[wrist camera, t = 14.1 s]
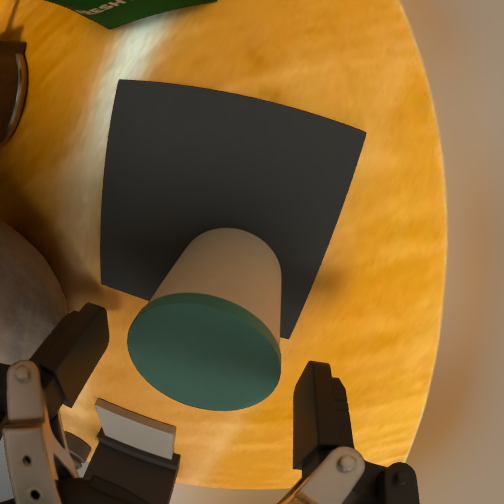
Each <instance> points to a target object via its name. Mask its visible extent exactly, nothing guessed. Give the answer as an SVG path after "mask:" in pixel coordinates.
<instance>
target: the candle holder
mask: <svg viewBox="0 0 504 504" xmlns="http://www.w3.org/2000/svg"><path fill="white" fill-rule="evenodd" d="M64 434H65V438H66V442H67V446H68V450H69V453H70V456H71V458H72V460H73V462H74V464H75V466H76V469H78V468H81V467H82V464H81V463H85V462H86V460H87V458H88V455H89V453H90V451H91V447H90V446H89V445H88V444H87V443H85V442H84V441H83V440H81V439H80V438H78V437H77V436H75V435H73V434H71V433H69V432H64Z"/></svg>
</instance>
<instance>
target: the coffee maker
mask: <svg viewBox="0 0 504 504" xmlns="http://www.w3.org/2000/svg"><path fill="white" fill-rule="evenodd" d="M95 407H96V411H97V414H98V417H99V419H100V422H101V425H102V427H101V429H100V431H99V433H98V435H97V438H98V440H99V443H98V446H97V448H96V450H95V452H94V454H93V456H92V459H91V461H90V463H89V465H88V468H87V470H86V472H85V474H84V477H83V478H90V479H91V477H92V475H93V474H94V475H96V476H98V477H101V478H103V479H105V480H108V481H110V482H112V483H115V484H117V485H120V486H122V487H124V488H125V489H127V490H129V491H130V492H132V493H133V494H135V495H137V496H138V497H140V498H142V499H143V500H145V501H147V502H149V503H151V504H169V502H170V498H171V495H172V491H173V488H174V484H175V481H176V477H177V473H178V469H179V462H180V455H177V454H174V443H175V433H176V427H174V426H171V425H167V424H164V423H161V422H158V421H155V420H152V419H150V418H147V417H144V416H141V415H139V414H136V413H133V412H131V411H128V410H126V409H123V408H121V407H118V406H116V405H113V404H111V403H109V402H106V401H104V400H102V399H100V398H98V399H97V401H96V403H95Z"/></svg>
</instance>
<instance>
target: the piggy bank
mask: <svg viewBox="0 0 504 504" xmlns="http://www.w3.org/2000/svg"><path fill="white" fill-rule="evenodd" d="M67 314H69V310H68V306H67V302H66V299H65V296H64V293H63V291H62V288H61V286H60V284H59V282H58V280H57V278H56V276H55V274H54V273H53V271H52V269H51V268H50V266H49V264H48V262H47V261H46V259H45V258H44V257H43V256H42V254H41V253H40V252H39V251H38V250H37V249H36V248H35V247H34V246H33V245H32V244H31V243H30V242H28V241H27V240H26V239H25V238H24V237H23V236H22V235H21V234H19V233H18V232H17V231H15V230H14V229H13V228H11V227H10V226H9V225H7V224H6V223H4V222H3V221H1V220H0V363H3V364H8V365H12V364H13V363H14V362H16V361H19V360H29V359H30V358H31V357H32V355H33V354H34V353H35V351H36V350H37V349H38V348H39V346H40V345H41V344H42V342H43V341H44V340H45V339H46V338H47V336H48V335H49V334H51V331H52V330H53V329H54V328H55V327H57V324H58V323H59V322H60V321H61V319H62V318H63V317H64V316H66V315H67Z"/></svg>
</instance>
